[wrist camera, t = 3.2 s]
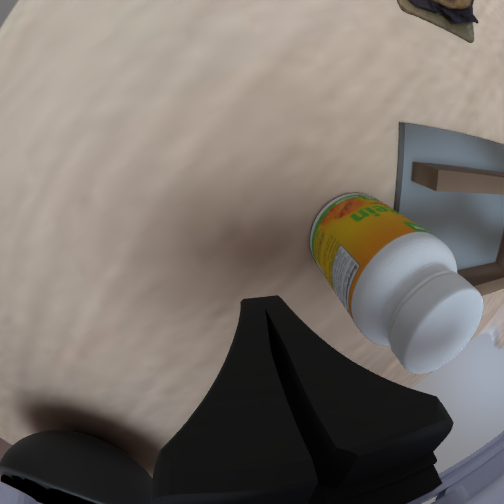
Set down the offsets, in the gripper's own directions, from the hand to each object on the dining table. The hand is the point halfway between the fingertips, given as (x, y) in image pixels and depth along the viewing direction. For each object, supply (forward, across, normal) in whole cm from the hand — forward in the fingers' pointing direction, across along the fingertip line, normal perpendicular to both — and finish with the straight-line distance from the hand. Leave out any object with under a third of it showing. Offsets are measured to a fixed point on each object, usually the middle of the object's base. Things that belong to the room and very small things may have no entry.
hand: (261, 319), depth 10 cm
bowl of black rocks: (+7, +20, +24) cm, 32 cm away
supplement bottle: (+7, -6, 0) cm, 10 cm away
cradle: (+7, -17, 0) cm, 18 cm away
